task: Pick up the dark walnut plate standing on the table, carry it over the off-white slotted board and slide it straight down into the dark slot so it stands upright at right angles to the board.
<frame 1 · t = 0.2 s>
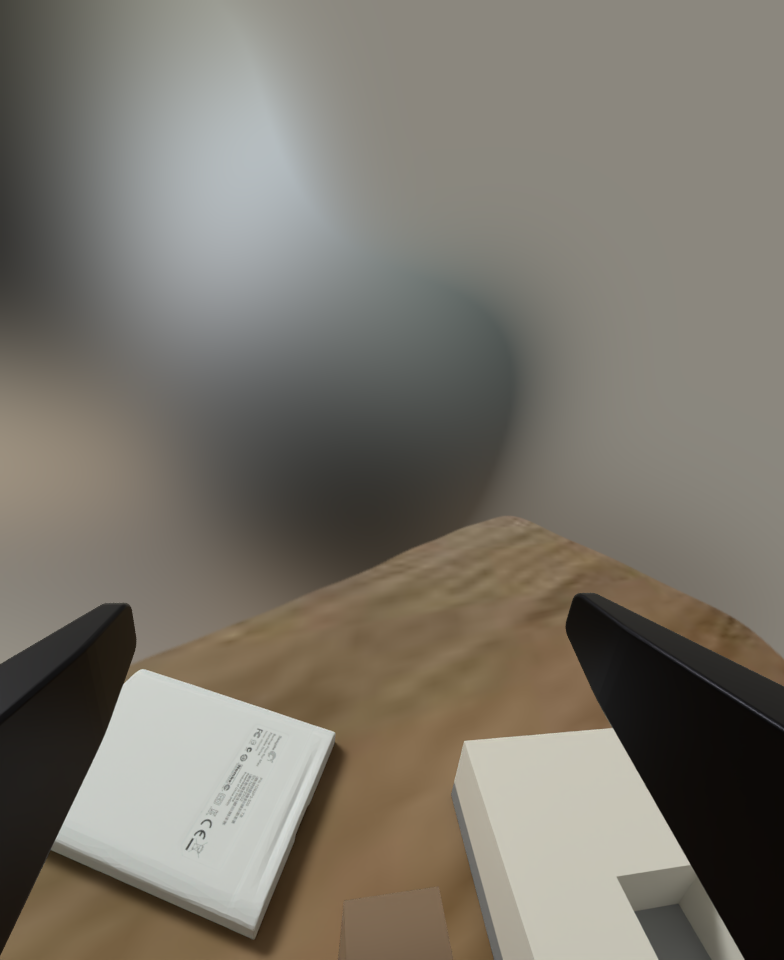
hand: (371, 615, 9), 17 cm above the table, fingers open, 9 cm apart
external hard drive: (187, 788, 21), on the table
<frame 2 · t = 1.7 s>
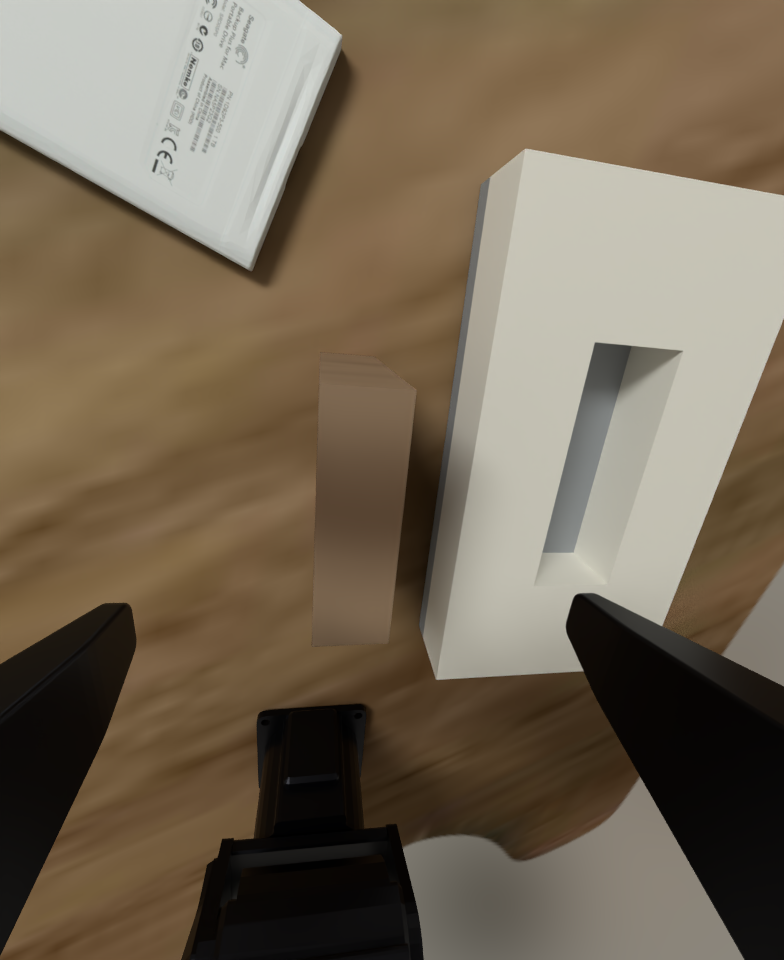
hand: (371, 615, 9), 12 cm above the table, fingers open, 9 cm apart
slotted board: (554, 451, 22), on the table
external hard drive: (127, 63, 15), on the table
walnut plate: (342, 441, 20), on the table
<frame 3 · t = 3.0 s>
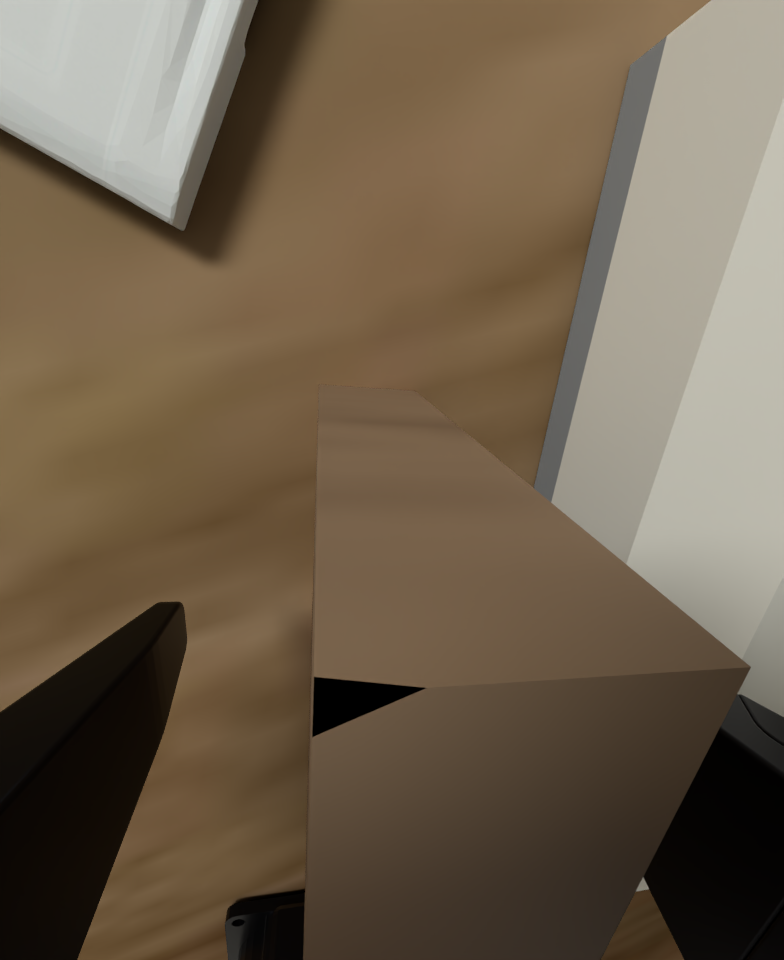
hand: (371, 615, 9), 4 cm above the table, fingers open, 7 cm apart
slotted board: (693, 533, 14), on the table
walnut plate: (357, 530, 12), on the table
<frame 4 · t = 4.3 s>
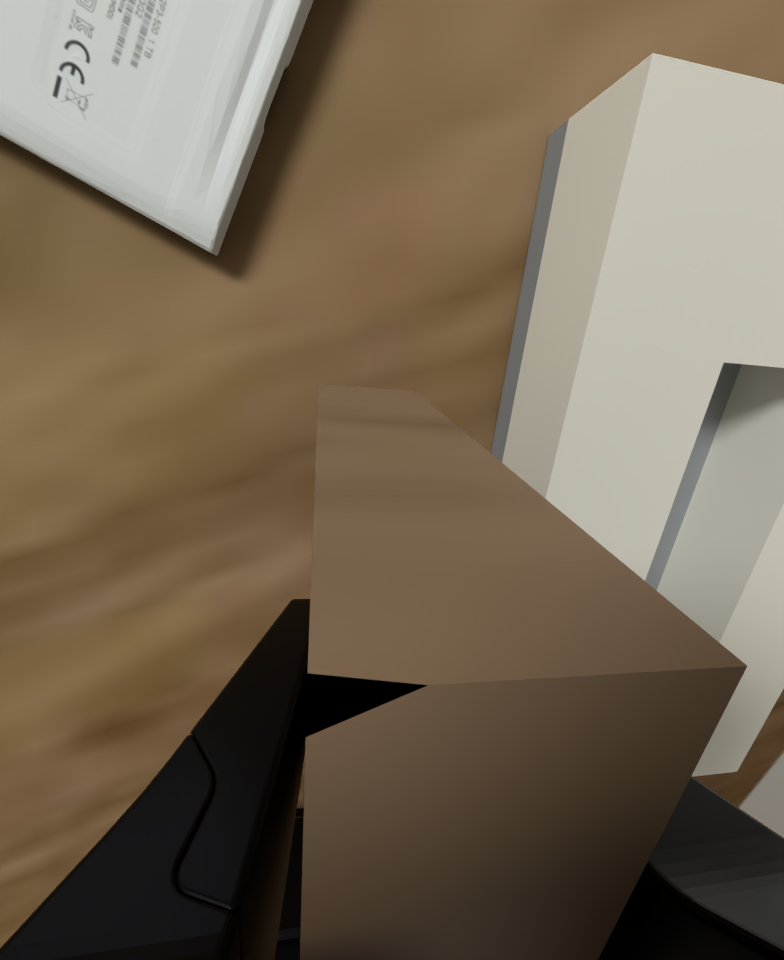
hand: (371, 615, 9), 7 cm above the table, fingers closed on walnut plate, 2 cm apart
slotted board: (625, 497, 17), on the table
walnut plate: (357, 530, 12), point 3 cm above the table, touching gripper
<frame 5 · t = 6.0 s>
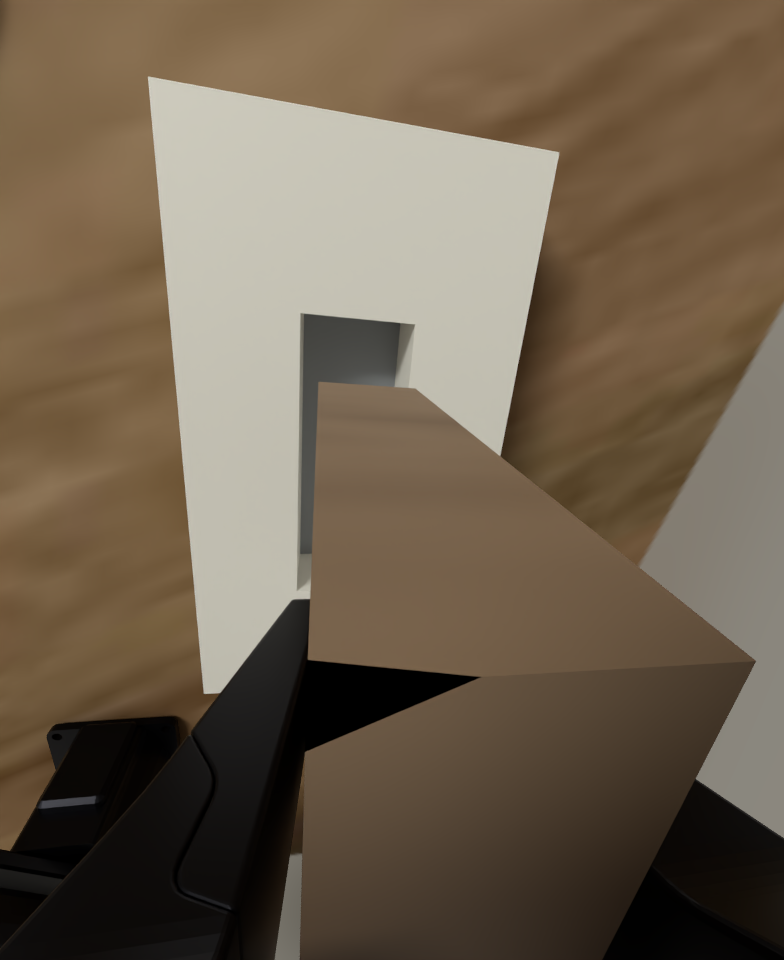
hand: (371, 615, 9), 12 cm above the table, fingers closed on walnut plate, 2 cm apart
slotted board: (344, 441, 20), on the table
walnut plate: (357, 529, 12), point 9 cm above the table, touching gripper
when the fingers open (5 cm above the table, at t = 8.4 s): walnut plate stays where it is, resting on slotted board.
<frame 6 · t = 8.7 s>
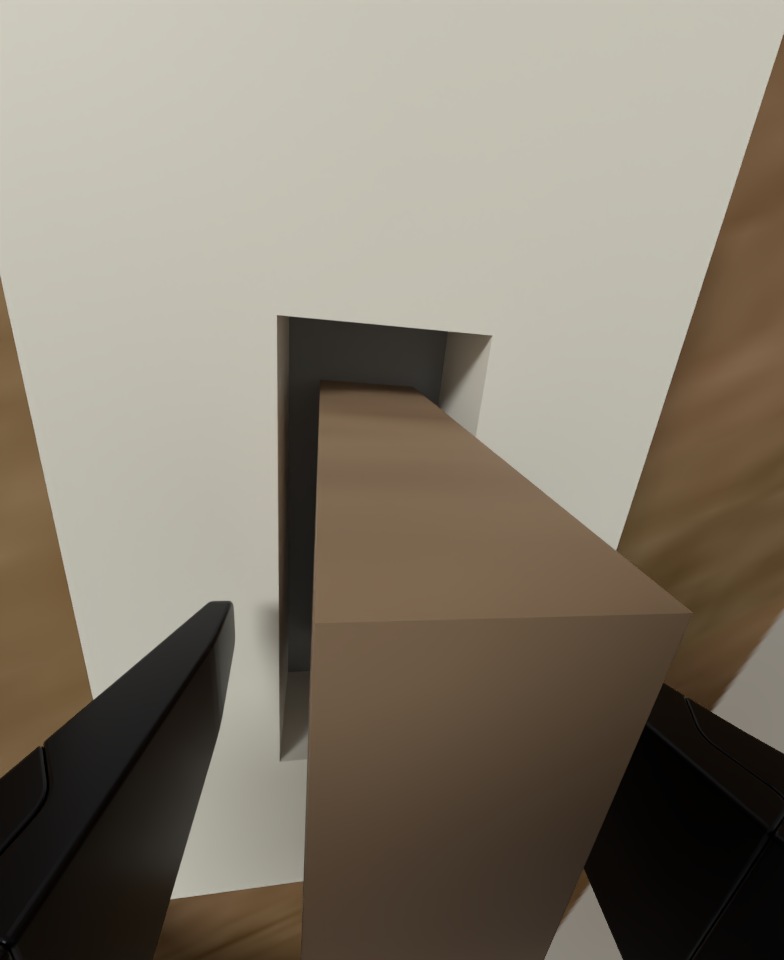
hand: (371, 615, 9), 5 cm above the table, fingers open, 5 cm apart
slotted board: (354, 508, 13), on the table
walnut plate: (357, 522, 12), point 1 cm above the table, touching slotted board
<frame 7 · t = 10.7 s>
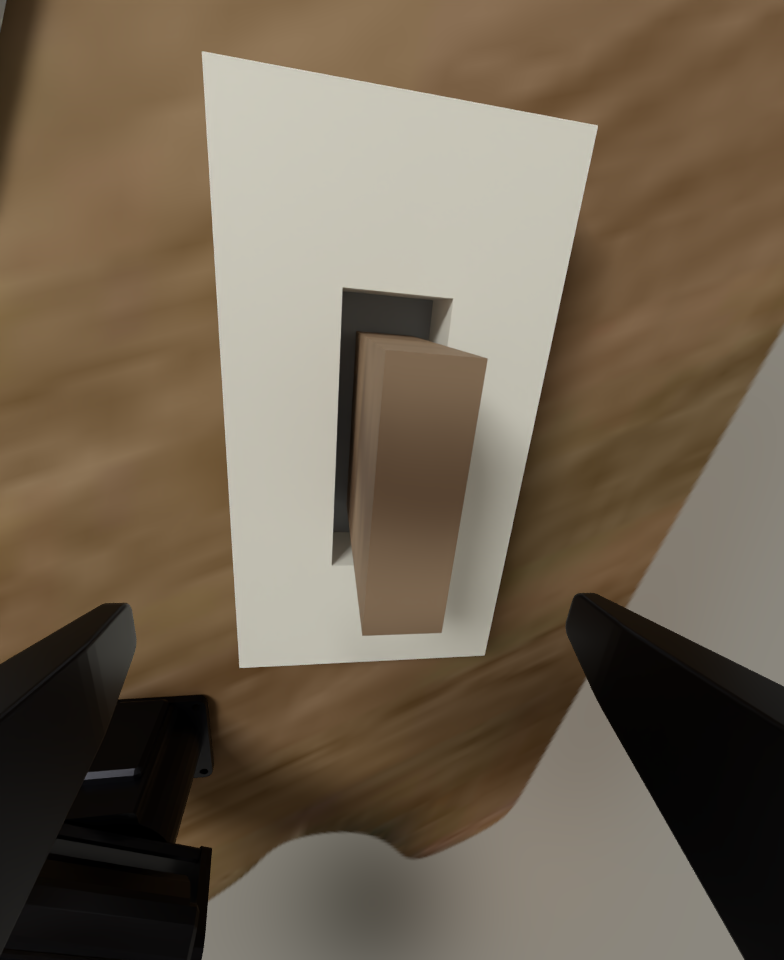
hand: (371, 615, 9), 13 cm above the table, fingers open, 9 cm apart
slotted board: (374, 420, 20), on the table
walnut plate: (377, 425, 19), point 1 cm above the table, touching slotted board
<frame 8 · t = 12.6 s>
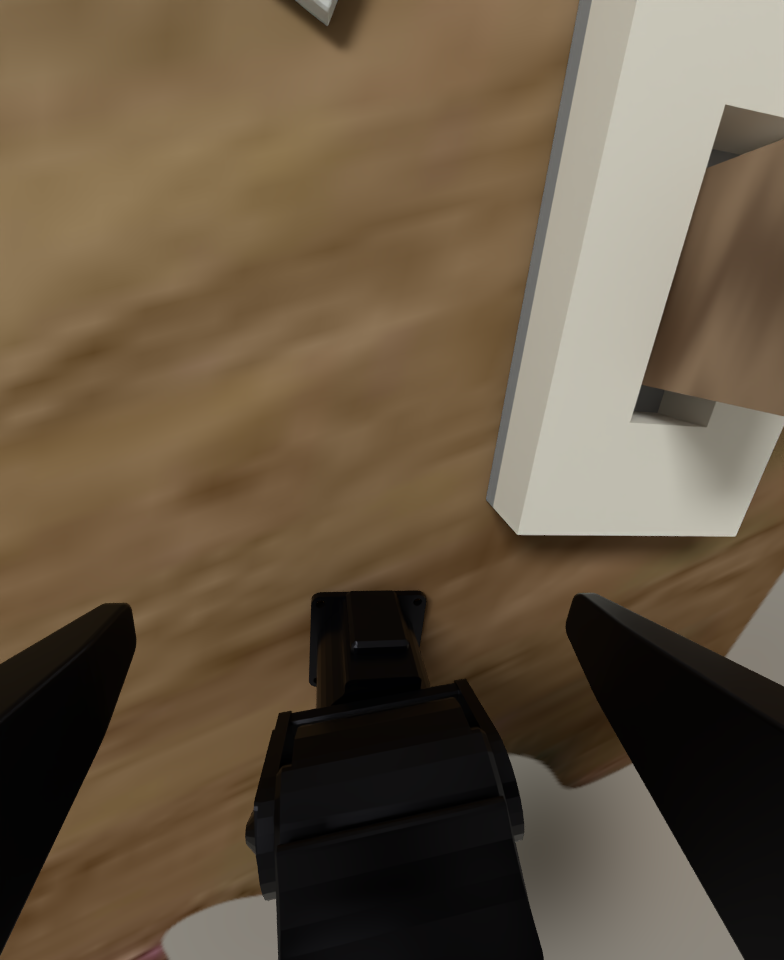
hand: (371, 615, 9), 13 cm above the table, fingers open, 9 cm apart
slotted board: (643, 293, 20), on the table
walnut plate: (658, 291, 19), point 1 cm above the table, touching slotted board
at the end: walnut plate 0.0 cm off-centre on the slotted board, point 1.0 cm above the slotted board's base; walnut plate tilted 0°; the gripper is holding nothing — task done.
